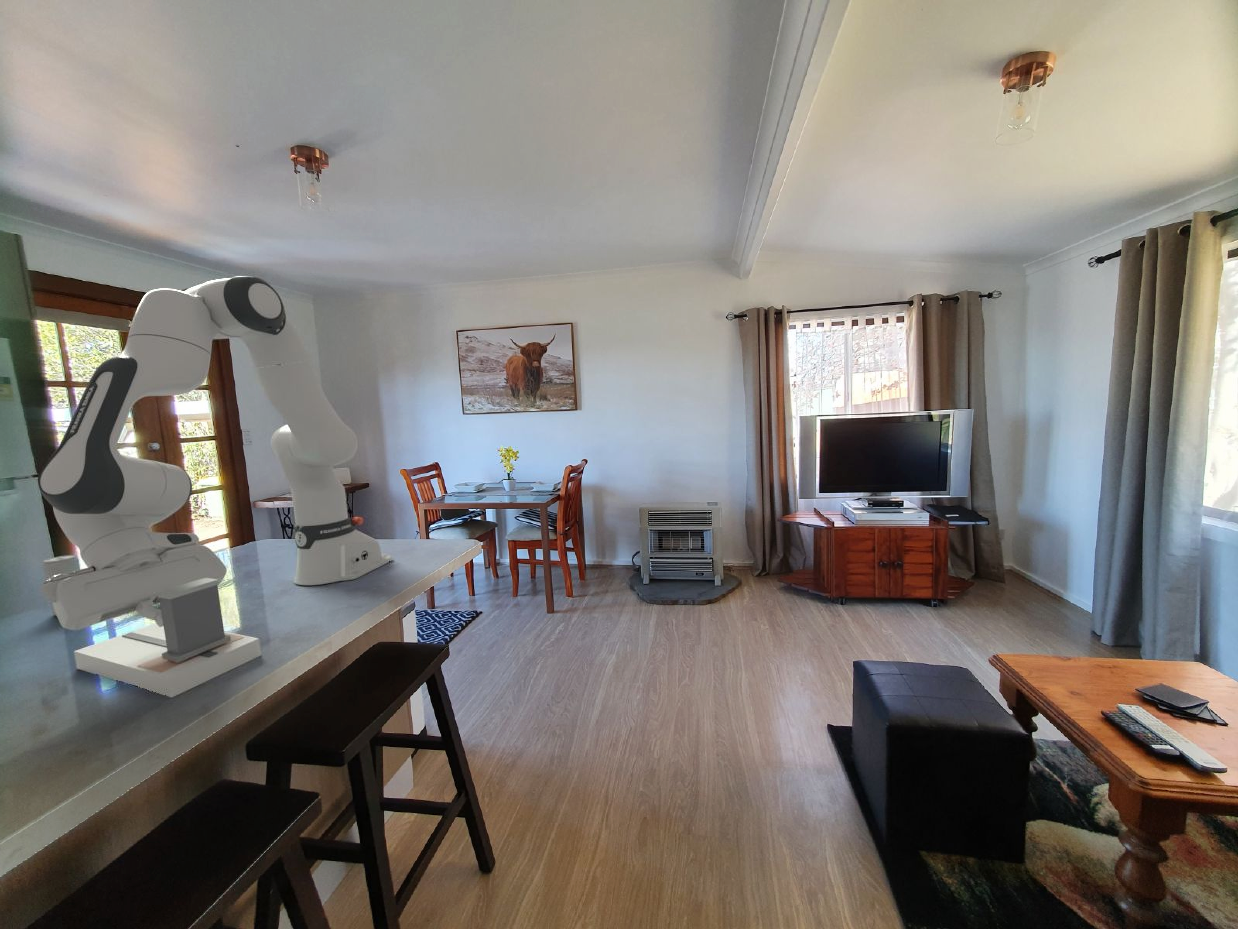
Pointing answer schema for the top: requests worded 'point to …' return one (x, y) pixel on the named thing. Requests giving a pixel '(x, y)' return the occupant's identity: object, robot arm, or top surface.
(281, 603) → the top surface
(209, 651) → the fader console
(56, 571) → the beverage can
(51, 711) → the top surface
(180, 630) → the fader knob
